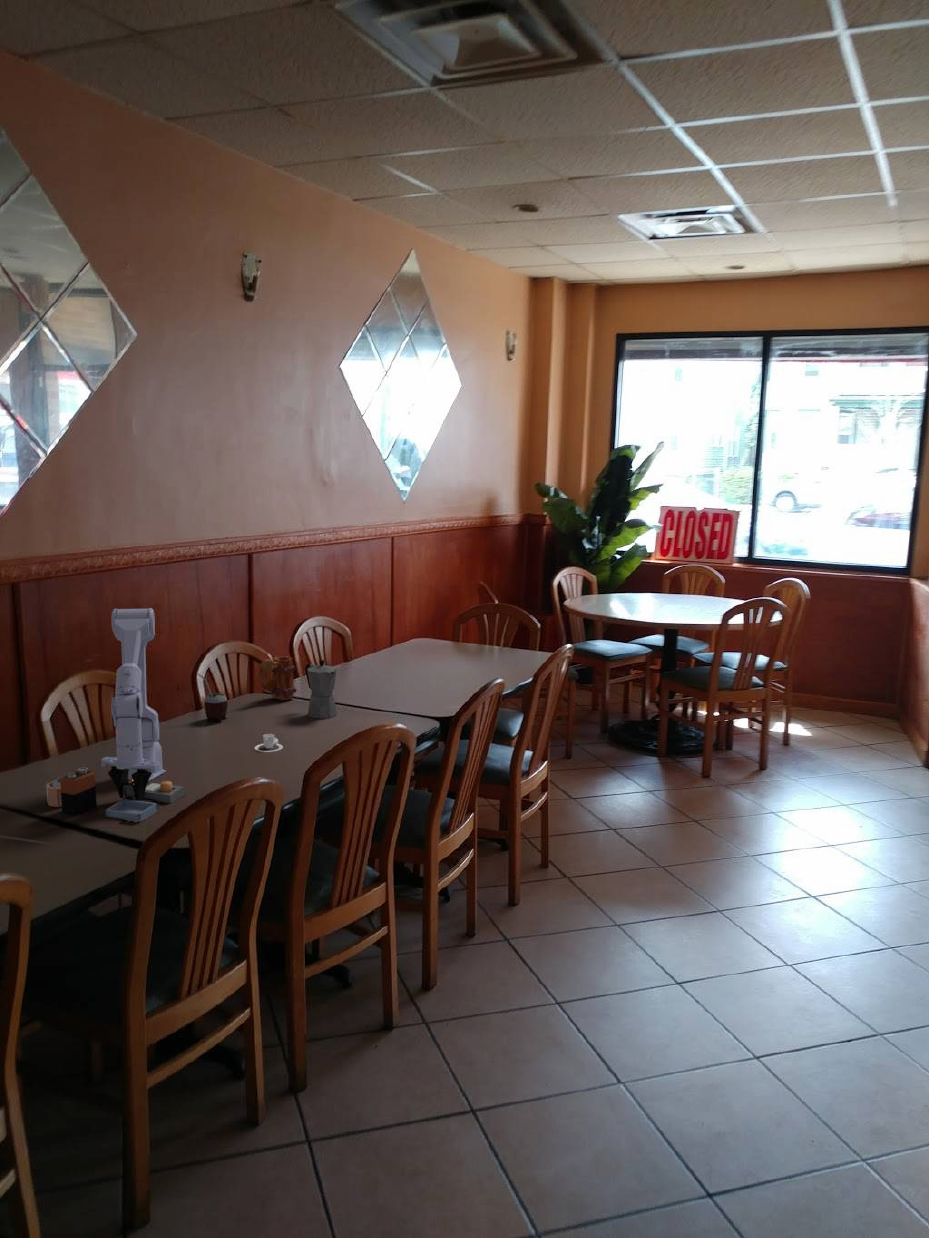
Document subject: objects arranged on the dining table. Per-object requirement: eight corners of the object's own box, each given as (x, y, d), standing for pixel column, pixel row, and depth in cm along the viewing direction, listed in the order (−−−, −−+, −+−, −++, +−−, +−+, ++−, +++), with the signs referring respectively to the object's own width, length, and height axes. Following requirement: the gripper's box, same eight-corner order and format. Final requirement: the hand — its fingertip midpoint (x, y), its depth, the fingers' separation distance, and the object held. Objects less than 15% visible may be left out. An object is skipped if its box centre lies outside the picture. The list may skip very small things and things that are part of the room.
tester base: (184, 794, 231) (184, 785, 230) (170, 803, 225) (170, 794, 224) (152, 790, 233) (151, 781, 232) (137, 798, 227) (137, 790, 227)
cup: (60, 797, 227) (59, 777, 226) (83, 800, 226) (81, 780, 225) (42, 806, 221) (40, 786, 220) (65, 809, 220) (64, 789, 219)
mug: (285, 694, 324) (284, 651, 321) (301, 698, 319) (301, 655, 316) (252, 703, 312) (251, 659, 309) (269, 707, 307) (268, 662, 305)
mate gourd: (231, 721, 291) (230, 674, 289) (207, 725, 287) (205, 677, 284) (222, 715, 297) (220, 669, 295) (198, 719, 293) (196, 672, 290)
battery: (97, 808, 221) (95, 767, 219) (75, 818, 215) (73, 777, 213) (83, 805, 223) (81, 765, 221) (61, 815, 217) (58, 774, 215)
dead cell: (61, 797, 226) (59, 773, 225) (75, 799, 225) (73, 775, 224) (49, 803, 222) (48, 779, 221) (64, 805, 221) (62, 781, 220)
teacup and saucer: (269, 742, 273) (269, 728, 272) (290, 747, 269) (290, 733, 268) (248, 750, 266) (248, 736, 265) (269, 755, 262) (269, 741, 261)
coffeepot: (346, 716, 299) (346, 661, 295) (322, 722, 292) (321, 665, 289) (318, 706, 310) (317, 653, 306) (294, 711, 303) (293, 657, 300)
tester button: (164, 792, 230) (164, 780, 229) (174, 793, 229) (174, 781, 229) (158, 796, 227) (157, 784, 227) (168, 797, 227) (167, 785, 226)
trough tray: (124, 807, 222) (123, 799, 222) (157, 811, 220) (157, 803, 219) (105, 818, 215) (105, 809, 215) (139, 822, 213) (139, 814, 213)
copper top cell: (129, 799, 227) (128, 776, 225) (144, 801, 226) (143, 777, 224) (119, 805, 223) (118, 781, 222) (134, 807, 222) (133, 783, 221)
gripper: (91, 745, 219) (95, 800, 222) (146, 751, 216) (148, 807, 218) (110, 736, 226) (113, 790, 229) (163, 742, 222) (165, 796, 225)
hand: (131, 797), depth 224 cm, fingers closed on copper top cell, 4 cm apart
